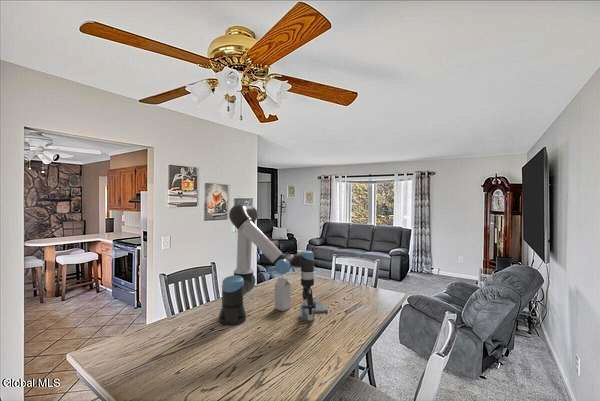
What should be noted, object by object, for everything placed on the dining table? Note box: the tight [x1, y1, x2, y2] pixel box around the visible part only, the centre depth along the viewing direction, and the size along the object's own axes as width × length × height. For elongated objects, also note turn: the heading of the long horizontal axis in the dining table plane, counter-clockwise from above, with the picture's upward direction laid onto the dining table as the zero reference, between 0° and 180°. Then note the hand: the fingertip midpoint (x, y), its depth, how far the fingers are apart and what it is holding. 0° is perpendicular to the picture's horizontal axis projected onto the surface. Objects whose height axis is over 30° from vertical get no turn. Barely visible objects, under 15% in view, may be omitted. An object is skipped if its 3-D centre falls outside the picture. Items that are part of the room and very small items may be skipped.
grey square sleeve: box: [299, 304, 315, 322], centre depth 165 cm, size 7×7×6 cm
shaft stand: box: [300, 294, 329, 314], centre depth 179 cm, size 14×14×8 cm
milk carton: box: [274, 276, 292, 312], centre depth 179 cm, size 7×7×19 cm
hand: (307, 315), depth 164 cm, fingers open, 13 cm apart
